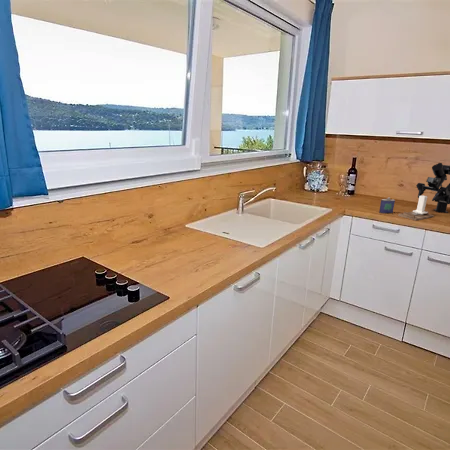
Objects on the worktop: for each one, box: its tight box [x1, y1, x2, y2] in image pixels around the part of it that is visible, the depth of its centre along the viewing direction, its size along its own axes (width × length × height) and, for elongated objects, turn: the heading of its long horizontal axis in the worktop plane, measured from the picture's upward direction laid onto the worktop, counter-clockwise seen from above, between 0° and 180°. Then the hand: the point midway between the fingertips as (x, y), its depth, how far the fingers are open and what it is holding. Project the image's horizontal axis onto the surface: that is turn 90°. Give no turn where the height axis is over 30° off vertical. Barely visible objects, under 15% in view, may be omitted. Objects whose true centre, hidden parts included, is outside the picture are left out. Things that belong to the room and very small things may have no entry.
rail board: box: [397, 210, 435, 221], centre depth 214 cm, size 20×12×3 cm, turn 121°
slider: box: [412, 194, 429, 214], centre depth 214 cm, size 6×6×11 cm
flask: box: [378, 196, 396, 215], centre depth 219 cm, size 9×3×11 cm, turn 95°
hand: (425, 199), depth 215 cm, fingers open, 9 cm apart
